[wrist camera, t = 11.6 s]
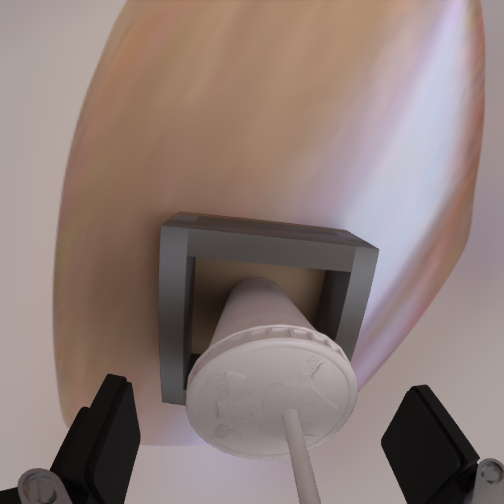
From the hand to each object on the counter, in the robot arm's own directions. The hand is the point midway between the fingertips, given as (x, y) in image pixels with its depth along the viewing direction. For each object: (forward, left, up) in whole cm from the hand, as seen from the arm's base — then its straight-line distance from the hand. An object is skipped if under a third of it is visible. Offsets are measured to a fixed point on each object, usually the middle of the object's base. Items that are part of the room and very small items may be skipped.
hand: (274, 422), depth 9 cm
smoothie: (0, 0, -11) cm, 11 cm away
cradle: (+1, 0, -12) cm, 12 cm away
